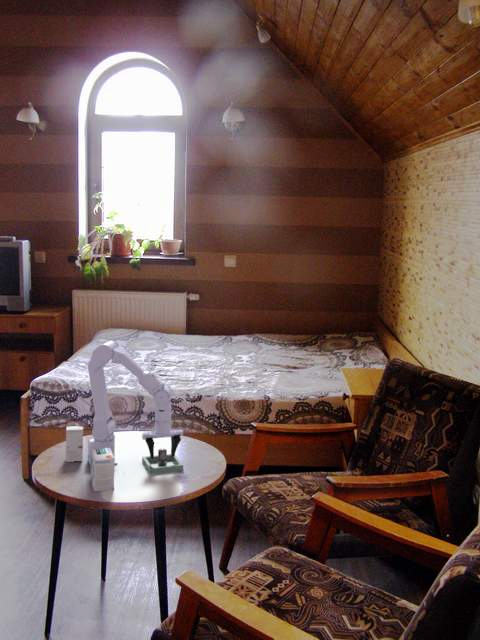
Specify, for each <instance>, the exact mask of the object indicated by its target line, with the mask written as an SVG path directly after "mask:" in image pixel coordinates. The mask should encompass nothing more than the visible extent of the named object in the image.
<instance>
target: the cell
mask: <svg viewBox="0 0 480 640" xmlns="http://www.w3.org/2000/svg"><path fill="white" fill-rule="evenodd" d="M157 453H158V454H157V455H158V461H157V467H160V466H167V461H168V460H167V454H168V453H167V449H166V448H160V449H158V451H157Z"/></svg>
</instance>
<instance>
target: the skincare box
mask: <svg viewBox="0 0 480 640" xmlns="http://www.w3.org/2000/svg"><path fill="white" fill-rule="evenodd" d="M83 443H84V426H83V425H79V426H78V425H77V426H76V425H75V426H74V425H73V426H66V429H65V462H66V463H73V462H74V461H81V462H83V455H84V454H83V450H84V449H83V448H84V447H83V446H84V445H83Z"/></svg>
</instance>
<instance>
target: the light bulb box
mask: <svg viewBox="0 0 480 640" xmlns="http://www.w3.org/2000/svg"><path fill="white" fill-rule="evenodd" d="M90 481H91V486H92V489H93V492H101V491H100V490H102V491H110V490H111V491H112V490H115V464H114V456H113V454H112V451H111V449H110V448H102V449H91V466H90Z"/></svg>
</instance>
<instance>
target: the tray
mask: <svg viewBox="0 0 480 640" xmlns="http://www.w3.org/2000/svg"><path fill="white" fill-rule="evenodd" d="M141 458H142V459H141V461H142V464H143V465H144V468H146V470H147V472H148V474H149V475H155V474H163V473H174V472H182V471H184V464H183V463H182V461H181V460H180V459H179V458H178V456H177V455H176V454H175V456H174V457H172V455H171V453H167V461H173V463H174V464H172V465H171V464H170V465H166V466H160V467H158V466H155V467H154V466H152V465H151V463H155V462H157V463H158V454H157V455H156V454H155V455H154V459H151V457H150V455H147V456H142V457H141Z"/></svg>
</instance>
